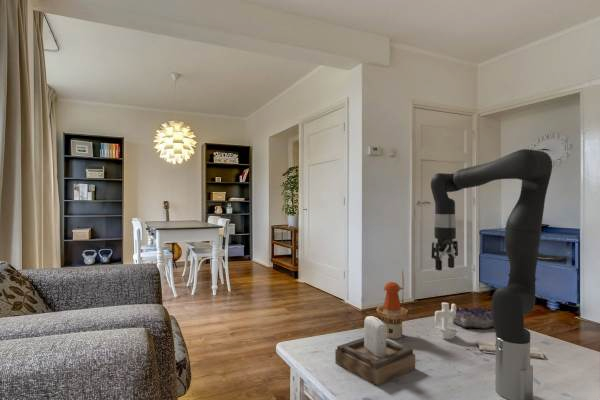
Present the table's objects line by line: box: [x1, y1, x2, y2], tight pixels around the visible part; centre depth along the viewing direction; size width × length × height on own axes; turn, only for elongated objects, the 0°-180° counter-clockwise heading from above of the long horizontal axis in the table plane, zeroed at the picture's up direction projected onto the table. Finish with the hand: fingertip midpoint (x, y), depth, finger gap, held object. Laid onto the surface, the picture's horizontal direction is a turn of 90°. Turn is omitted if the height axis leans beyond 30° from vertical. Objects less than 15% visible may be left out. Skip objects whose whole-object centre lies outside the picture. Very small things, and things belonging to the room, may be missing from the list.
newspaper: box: [476, 340, 545, 360], centre depth 141 cm, size 23×12×2 cm, turn 70°
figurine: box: [433, 302, 459, 340], centre depth 156 cm, size 7×9×15 cm
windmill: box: [376, 268, 409, 340], centre depth 156 cm, size 17×14×30 cm
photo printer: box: [363, 315, 387, 358], centre depth 128 cm, size 10×4×12 cm, turn 20°
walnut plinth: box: [334, 337, 416, 387], centre depth 128 cm, size 20×20×6 cm
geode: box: [452, 306, 494, 330], centre depth 170 cm, size 20×12×10 cm, turn 90°
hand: (445, 268), depth 134 cm, fingers open, 8 cm apart
